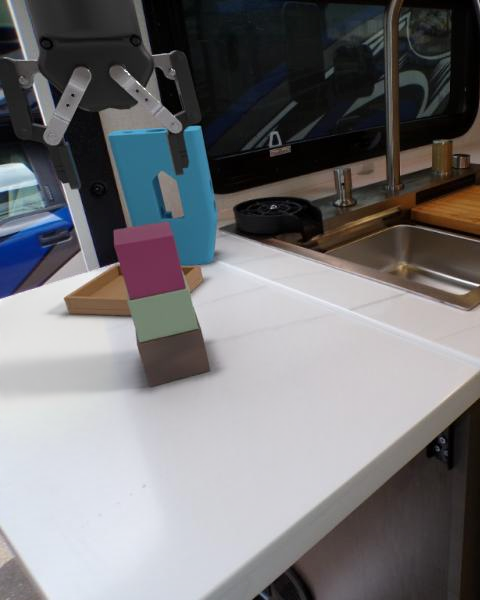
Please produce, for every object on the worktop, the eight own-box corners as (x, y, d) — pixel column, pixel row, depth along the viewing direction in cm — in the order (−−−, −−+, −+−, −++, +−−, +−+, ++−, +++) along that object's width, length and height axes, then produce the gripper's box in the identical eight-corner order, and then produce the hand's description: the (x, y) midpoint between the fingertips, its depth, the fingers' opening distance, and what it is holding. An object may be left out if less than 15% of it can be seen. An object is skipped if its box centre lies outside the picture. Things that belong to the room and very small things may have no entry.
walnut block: (149, 387, 53) (136, 345, 50) (145, 359, 58) (134, 319, 55) (210, 370, 55) (201, 329, 53) (202, 344, 60) (193, 306, 58)
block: (142, 270, 80) (105, 136, 71) (149, 258, 85) (115, 130, 76) (223, 261, 83) (197, 130, 74) (225, 250, 87) (201, 125, 78)
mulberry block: (130, 300, 49) (114, 245, 47) (128, 281, 53) (113, 229, 51) (186, 288, 51) (173, 235, 49) (180, 271, 55) (168, 221, 53)
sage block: (139, 343, 51) (127, 302, 49) (136, 319, 55) (125, 281, 53) (198, 329, 53) (189, 289, 51) (191, 307, 57) (182, 269, 55)
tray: (68, 313, 68) (63, 297, 67) (120, 278, 78) (115, 264, 77) (163, 316, 66) (159, 300, 65) (203, 280, 76) (200, 265, 75)
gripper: (167, -23, 46) (204, 163, 53) (-29, -25, 40) (42, 183, 48) (176, -34, 40) (217, 178, 47) (-53, -39, 34) (33, 202, 42)
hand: (129, 180), depth 47 cm, fingers open, 8 cm apart
